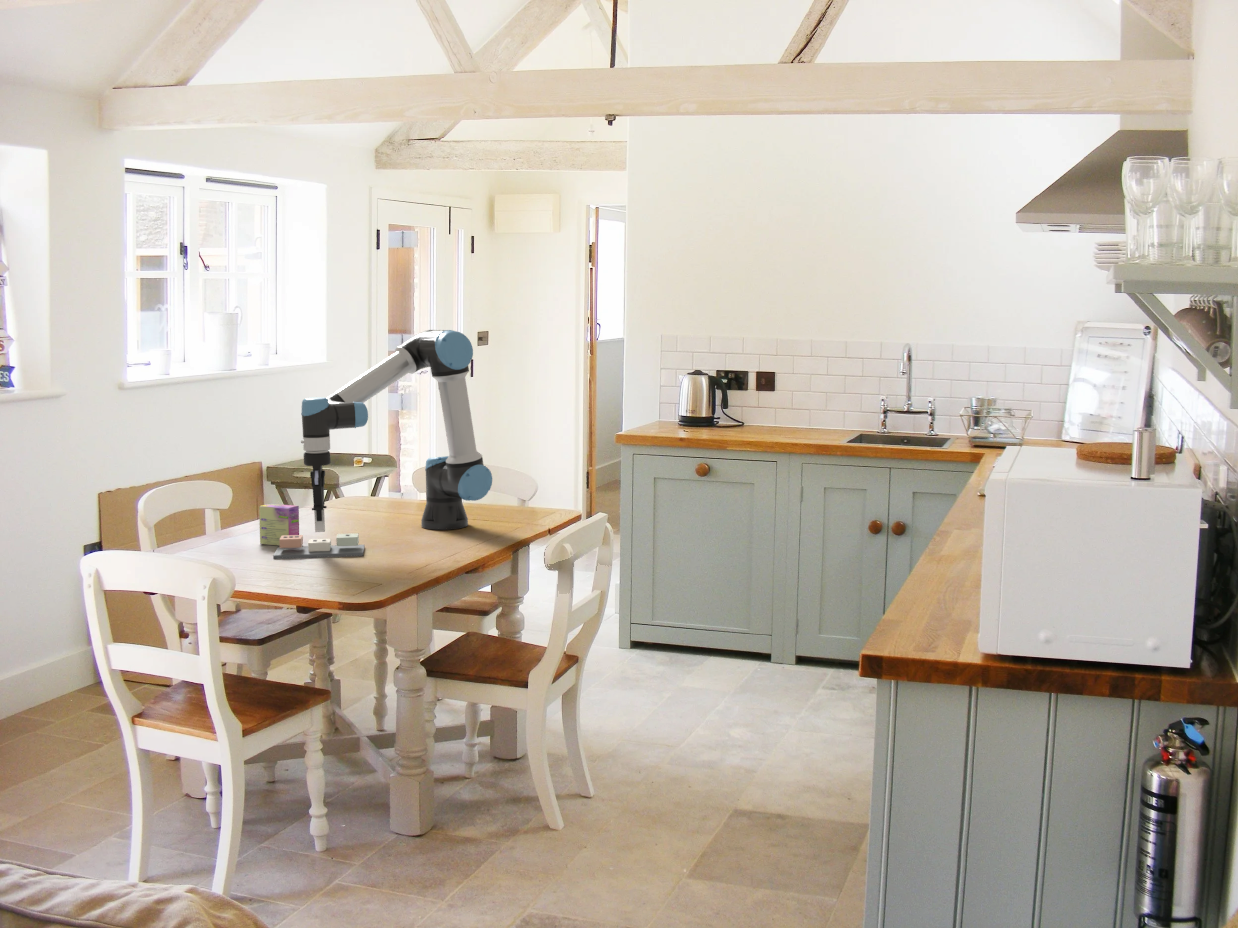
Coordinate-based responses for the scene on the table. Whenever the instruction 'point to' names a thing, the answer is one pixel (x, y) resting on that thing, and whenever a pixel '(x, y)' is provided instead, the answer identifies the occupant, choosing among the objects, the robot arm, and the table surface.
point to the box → (277, 522)
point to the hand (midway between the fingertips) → (320, 531)
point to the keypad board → (319, 552)
